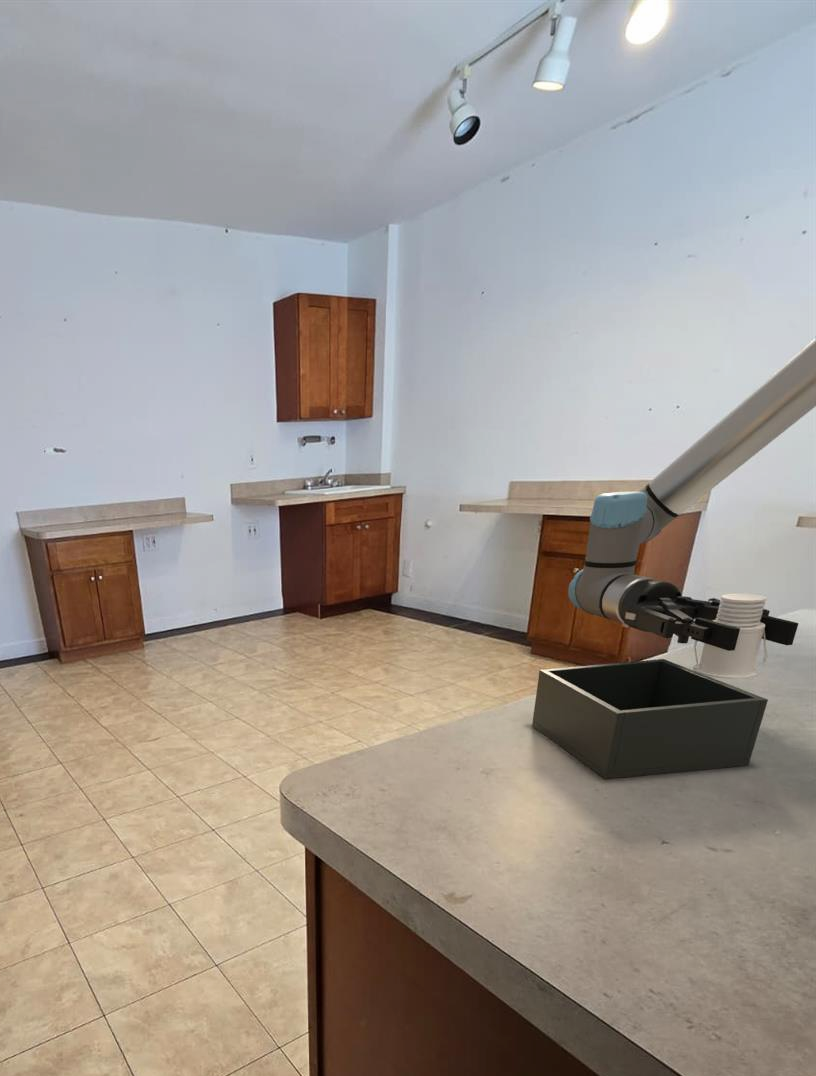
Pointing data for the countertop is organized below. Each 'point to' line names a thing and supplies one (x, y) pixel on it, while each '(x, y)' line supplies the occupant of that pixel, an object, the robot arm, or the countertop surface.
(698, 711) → the dark grey open box
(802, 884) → the countertop surface
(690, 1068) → the countertop surface
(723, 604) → the downlight
